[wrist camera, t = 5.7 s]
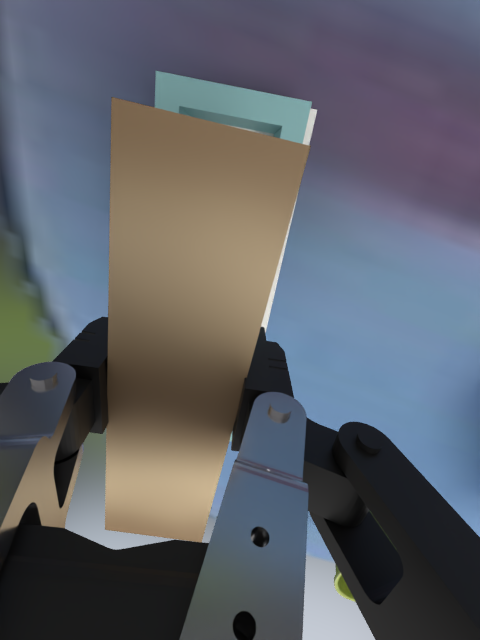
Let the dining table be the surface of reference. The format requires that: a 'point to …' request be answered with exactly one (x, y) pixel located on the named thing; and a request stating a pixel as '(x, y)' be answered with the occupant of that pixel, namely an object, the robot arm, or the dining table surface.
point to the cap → (233, 106)
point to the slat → (185, 304)
